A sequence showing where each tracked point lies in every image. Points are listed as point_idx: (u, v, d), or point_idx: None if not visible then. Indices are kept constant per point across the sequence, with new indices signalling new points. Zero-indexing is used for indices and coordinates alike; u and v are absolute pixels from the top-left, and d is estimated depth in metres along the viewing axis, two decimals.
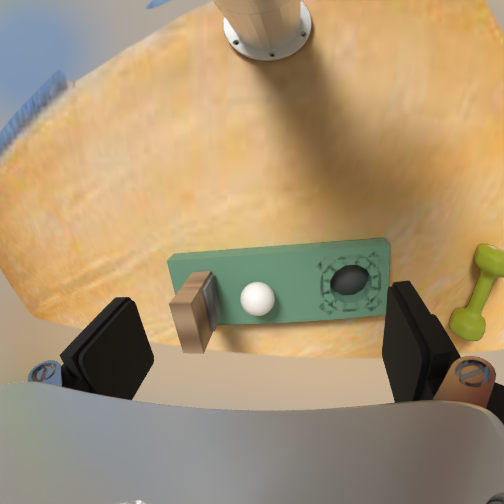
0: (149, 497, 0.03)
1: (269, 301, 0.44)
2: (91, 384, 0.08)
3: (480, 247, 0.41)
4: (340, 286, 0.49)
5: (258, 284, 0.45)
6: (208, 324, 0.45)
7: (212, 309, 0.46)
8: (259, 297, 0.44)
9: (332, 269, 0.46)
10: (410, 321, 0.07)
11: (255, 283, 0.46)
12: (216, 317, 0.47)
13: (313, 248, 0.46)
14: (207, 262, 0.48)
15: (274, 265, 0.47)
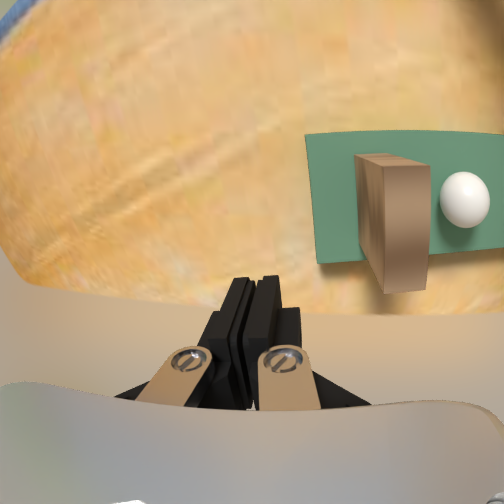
0: (149, 497, 0.03)
1: (489, 199, 0.21)
2: (238, 368, 0.08)
3: None
4: None
5: None
6: None
7: None
8: (481, 189, 0.20)
9: None
10: (253, 309, 0.09)
11: (464, 172, 0.22)
12: None
13: None
14: (380, 138, 0.25)
15: (475, 152, 0.23)
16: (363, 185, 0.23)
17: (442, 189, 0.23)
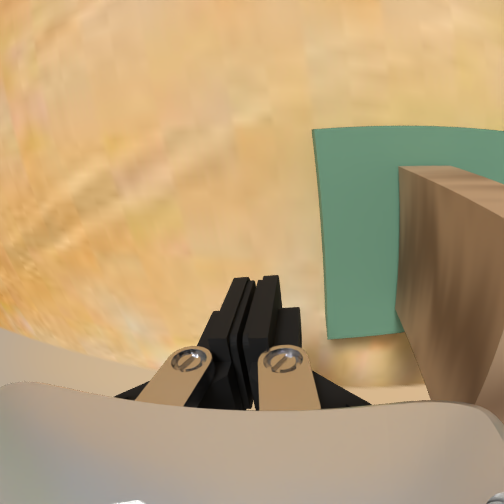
0: (149, 497, 0.03)
1: None
2: (238, 368, 0.08)
3: None
4: None
5: None
6: None
7: None
8: None
9: None
10: (253, 309, 0.09)
11: None
12: None
13: None
14: (441, 140, 0.13)
15: None
16: (423, 230, 0.11)
17: None
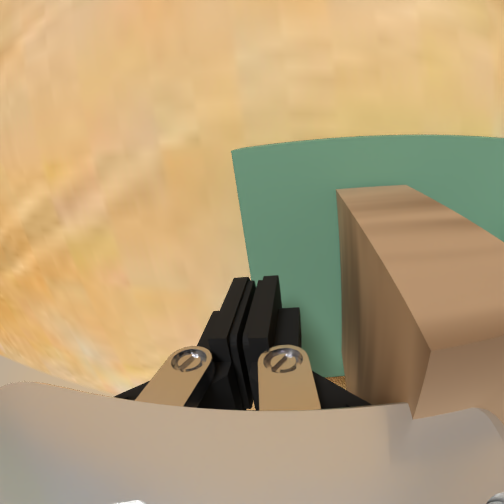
0: (149, 497, 0.03)
1: None
2: (238, 368, 0.08)
3: None
4: None
5: None
6: None
7: None
8: None
9: None
10: (253, 309, 0.09)
11: None
12: None
13: None
14: (394, 153, 0.12)
15: None
16: (352, 276, 0.10)
17: None
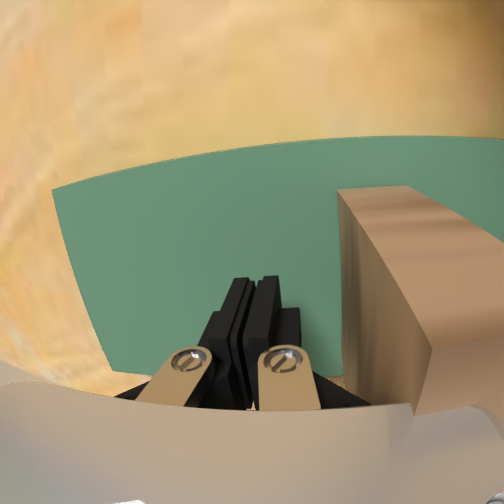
0: (149, 497, 0.03)
1: None
2: (238, 368, 0.08)
3: None
4: None
5: None
6: None
7: None
8: None
9: None
10: (253, 309, 0.09)
11: None
12: None
13: (492, 139, 0.11)
14: (157, 179, 0.13)
15: (394, 184, 0.12)
16: (352, 276, 0.10)
17: None
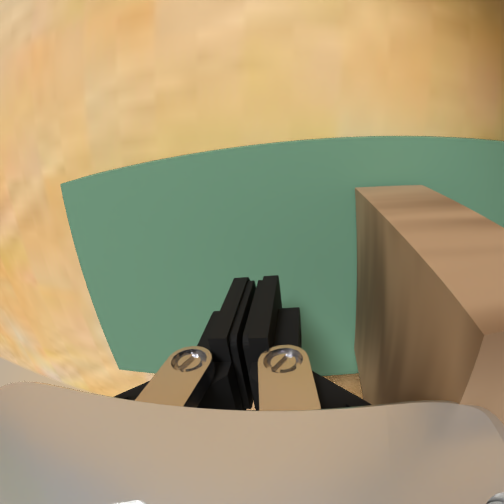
0: (149, 497, 0.03)
1: None
2: (238, 368, 0.08)
3: None
4: None
5: None
6: None
7: None
8: None
9: None
10: (253, 309, 0.09)
11: None
12: None
13: (501, 141, 0.11)
14: (172, 174, 0.13)
15: (409, 183, 0.12)
16: (374, 273, 0.10)
17: None
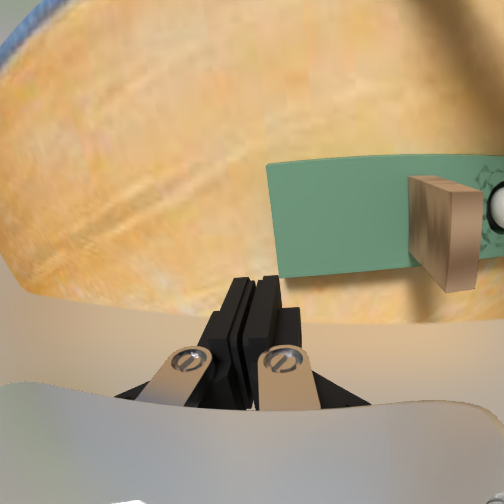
0: (149, 497, 0.03)
1: None
2: (238, 368, 0.08)
3: None
4: (486, 216, 0.31)
5: None
6: None
7: None
8: None
9: (490, 184, 0.27)
10: (253, 309, 0.09)
11: None
12: None
13: (468, 155, 0.27)
14: (334, 166, 0.29)
15: (428, 174, 0.28)
16: (420, 203, 0.26)
17: (492, 199, 0.28)
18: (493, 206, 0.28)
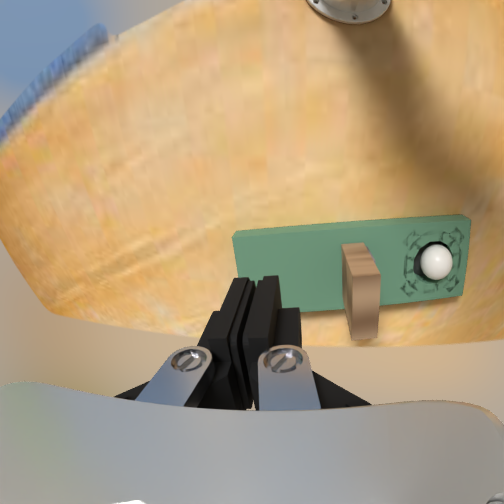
0: (149, 497, 0.03)
1: (451, 263, 0.37)
2: (238, 368, 0.08)
3: None
4: (418, 266, 0.43)
5: (440, 246, 0.38)
6: None
7: None
8: (444, 258, 0.37)
9: (417, 245, 0.39)
10: (253, 309, 0.09)
11: (437, 245, 0.39)
12: None
13: (398, 222, 0.39)
14: (282, 238, 0.41)
15: (359, 241, 0.40)
16: (345, 270, 0.38)
17: (422, 255, 0.40)
18: (421, 261, 0.40)
